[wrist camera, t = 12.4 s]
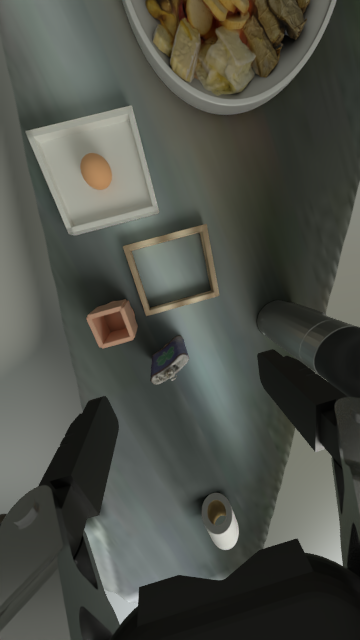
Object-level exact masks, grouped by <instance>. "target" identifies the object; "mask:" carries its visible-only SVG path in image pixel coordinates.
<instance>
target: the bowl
mask: <svg viewBox="0 0 360 640" xmlns="http://www.w3.org/2000/svg"><path fill="white" fill-rule="evenodd" d="M122 2H123V5H124V8H125V11H126V14H127V17H128V20H129V23H130V25H131V28H132V30H133V33H134V35H135V37H136V40H137V42H138V44H139V46H140V48H141V50H142V52H143V53H144V55H145V57H146V59H147V60H148V62H149V64H150V65H151V67H152V68H153V70H154V71H155V72H156V74H157V75H158V76H159V78H160V79H161V80H162V81H163V82H164V84H165V85H166V86H167V87H168V88H169V89H170V90H171V91H172V92H173V93H174V94H176V95H177V96H178V97H179V98H181V99H182V100H183V101H185V102H186V103H188V104H189V105H191V106H193V107H195V108H197V109H199V110H202V111H205V112H208V113H212V114H219V115H233V114H239V113H243V112H247V111H250V110H252V109H255V108H257V107H259V106H261V105H262V104H264V103H266V102H267V101H269V100H270V99H272V98H273V97H274V96H276V95H277V94H278V93H279V92H280V91H282V90H283V89H284V88H285V87H286V86H287V85H288V84H289V83H290V82H291V81H292V79H293V78H294V77H295V76H296V75H297V73H298V72H299V71H300V70H301V68H302V67H303V66H304V65H305V63H306V62H307V60H308V59H309V58H310V56H311V55H312V53H313V51H314V50H315V48H316V46H317V45H318V43H319V41H320V39H321V37H322V35H323V33H324V31H325V29H326V27H327V24H328V22H329V20H330V17H331V15H332V12H333V9H334V6H335V3H336V0H122Z"/></svg>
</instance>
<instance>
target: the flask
mask: <svg viewBox="0 0 360 640" xmlns="http://www.w3.org/2000/svg"><path fill="white" fill-rule="evenodd" d="M188 361H189V356H188V353H187V350H186V347H185V343H184V339H183V338H182V337H181V336H177V337H175V338H173V340H172V341H170V342H169V343H167V344H166V345H165V346H164V347H163V348H162V349H160V351H158V352H156V353H155V354H153V356H152V365H151V379H150V381H151V382H152V383H153V384H156V385H157V384H160V383H162V382H164V381H166V380H167V379H170V378H172V377H174V376H175V374H176V373H177V372H178V371H179V370H181V369H182V367H183V366H185V365H186V363H187V362H188ZM176 377H177V376H176ZM175 379H176V378H173V379H171V380H172V381H173V380H175Z"/></svg>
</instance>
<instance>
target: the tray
mask: <svg viewBox="0 0 360 640" xmlns="http://www.w3.org/2000/svg"><path fill="white" fill-rule="evenodd" d="M25 132H26V134H27V137H28V139H29V141H30V144H31V146H32V149H33V151H34V153H35V156H36V158H37V160H38V163H39V165H40V167H41V170H42V172H43V174H44V177H45V179H46V182H47V184H48V186H49V189H50V191H51V193H52V196H53V198H54V200H55V203H56V205H57V207H58V210H59V212H60V215H61V217H62V219H63V222H64V224H65V226H66V229H67V231H68V233H69V234H71V235H79V234H83V233H87V232H91V231H94V230H98V229H102V228H106V227H109V226H113V225H117V224H121V223H125V222H128V221H132V220H136V219H140V218H144V217H147V216H151V215H155V214H159V209H158V205H157V202H156V198H155V194H154V190H153V186H152V182H151V178H150V174H149V170H148V167H147V163H146V159H145V155H144V151H143V147H142V143H141V139H140V135H139V132H138V128H137V124H136V120H135V116H134V112H133V108H132V105H131V106H127V107H123V108H119V109H114V110H110V111H106V112H102V113H98V114H94V115H90V116H86V117H82V118H78V119H74V120H69V121H65V122H61V123H57V124H53V125H49V126H45V127H41V128H37V129H33V130H28V131H25ZM88 153H96V154H99V155H101V156H102V157H103V158H104V159H105V160H106V161H107V162H108V164H109V166H110V168H111V171H112V181H111V183H110V185H109V186H108V187H107V188H106V189H103V190H97V189H94V188H92V187H91V186H89V185H88V184H87V183H86V181H85V180H84V178H83V176H82V174H81V169H80V164H81V160H82V158H83V157H84V156H85V155H86V154H88Z"/></svg>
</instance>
